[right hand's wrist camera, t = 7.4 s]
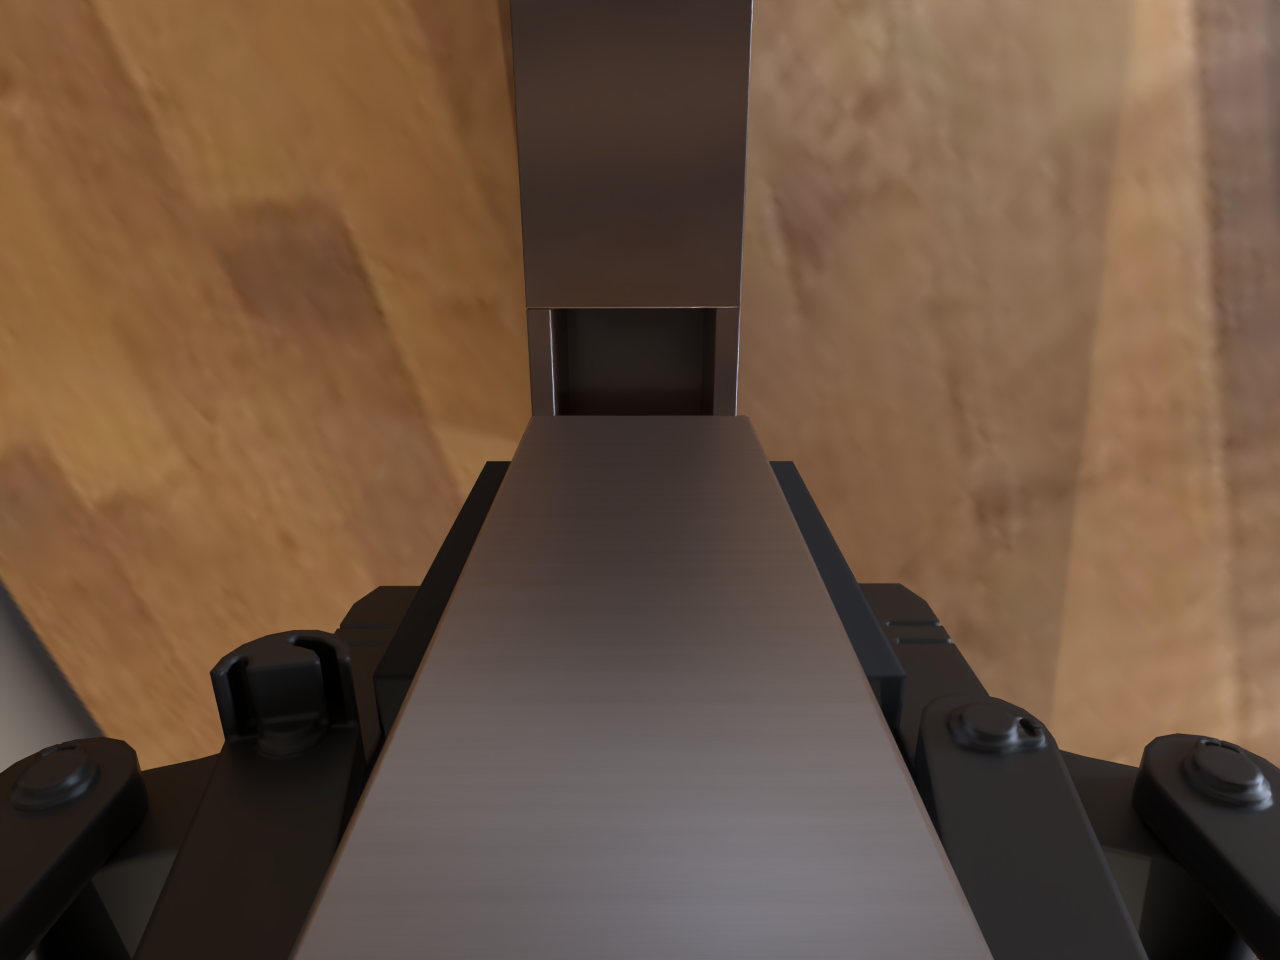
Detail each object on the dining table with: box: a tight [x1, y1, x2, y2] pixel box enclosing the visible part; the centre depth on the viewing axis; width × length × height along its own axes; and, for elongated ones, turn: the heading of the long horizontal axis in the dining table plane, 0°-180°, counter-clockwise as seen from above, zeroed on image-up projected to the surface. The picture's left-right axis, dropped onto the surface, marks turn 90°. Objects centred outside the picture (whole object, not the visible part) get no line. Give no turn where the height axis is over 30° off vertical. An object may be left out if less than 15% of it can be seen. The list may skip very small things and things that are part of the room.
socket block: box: [510, 0, 753, 417], centre depth 25 cm, size 24×6×6 cm, turn 0°
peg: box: [287, 416, 994, 960], centre depth 10 cm, size 4×4×12 cm
